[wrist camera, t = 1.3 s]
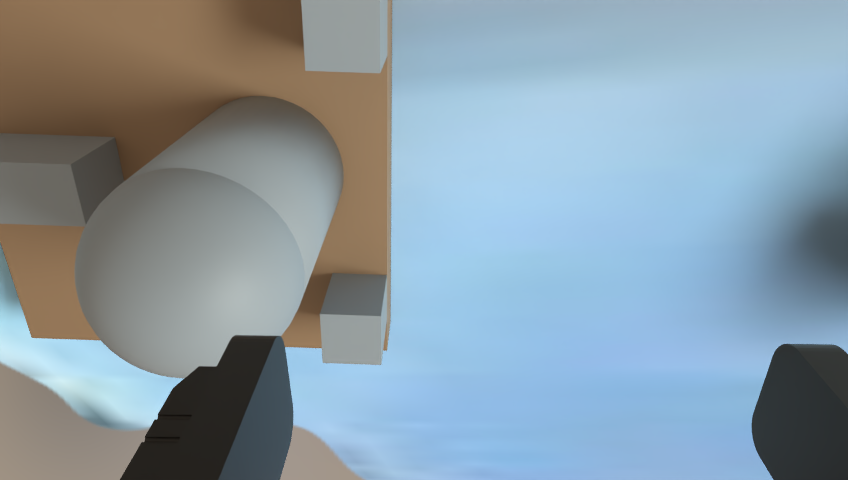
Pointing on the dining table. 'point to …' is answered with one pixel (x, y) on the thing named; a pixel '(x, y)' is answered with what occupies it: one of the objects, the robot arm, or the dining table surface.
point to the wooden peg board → (199, 174)
